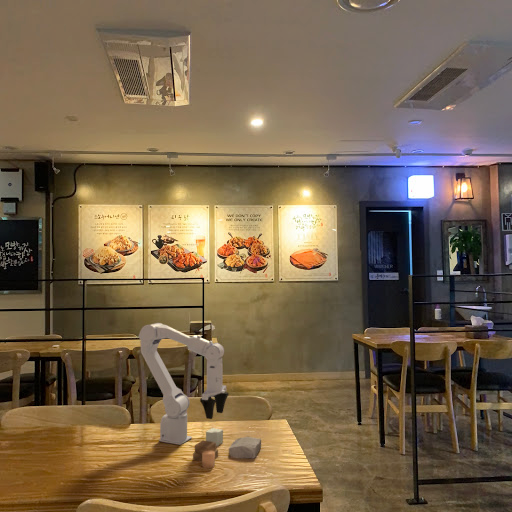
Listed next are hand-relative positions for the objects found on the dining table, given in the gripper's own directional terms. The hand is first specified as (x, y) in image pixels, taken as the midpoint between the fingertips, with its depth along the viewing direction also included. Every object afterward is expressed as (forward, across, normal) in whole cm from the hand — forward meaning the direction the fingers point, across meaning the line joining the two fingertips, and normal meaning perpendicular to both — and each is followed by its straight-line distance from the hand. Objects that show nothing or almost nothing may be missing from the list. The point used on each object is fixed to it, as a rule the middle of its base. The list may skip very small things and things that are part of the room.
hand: (214, 415), depth 162 cm
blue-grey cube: (+10, 0, 0) cm, 10 cm away
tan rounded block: (+10, -18, -8) cm, 22 cm away
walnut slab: (+10, -13, -4) cm, 17 cm away
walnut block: (+8, -13, -4) cm, 16 cm away
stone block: (+10, -3, -13) cm, 17 cm away
